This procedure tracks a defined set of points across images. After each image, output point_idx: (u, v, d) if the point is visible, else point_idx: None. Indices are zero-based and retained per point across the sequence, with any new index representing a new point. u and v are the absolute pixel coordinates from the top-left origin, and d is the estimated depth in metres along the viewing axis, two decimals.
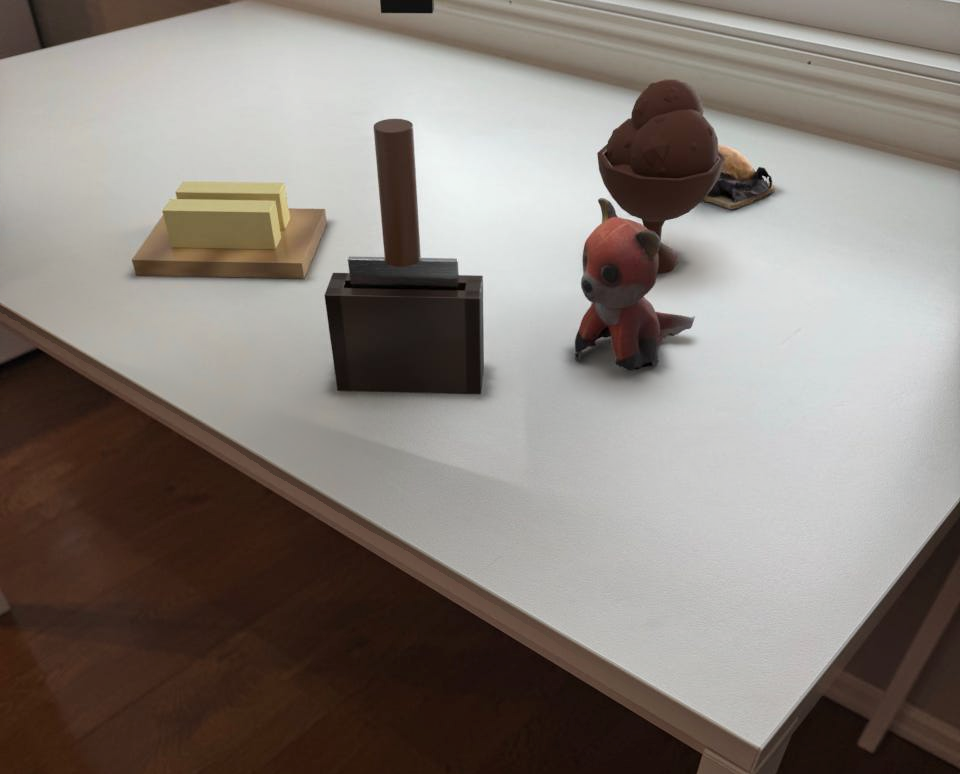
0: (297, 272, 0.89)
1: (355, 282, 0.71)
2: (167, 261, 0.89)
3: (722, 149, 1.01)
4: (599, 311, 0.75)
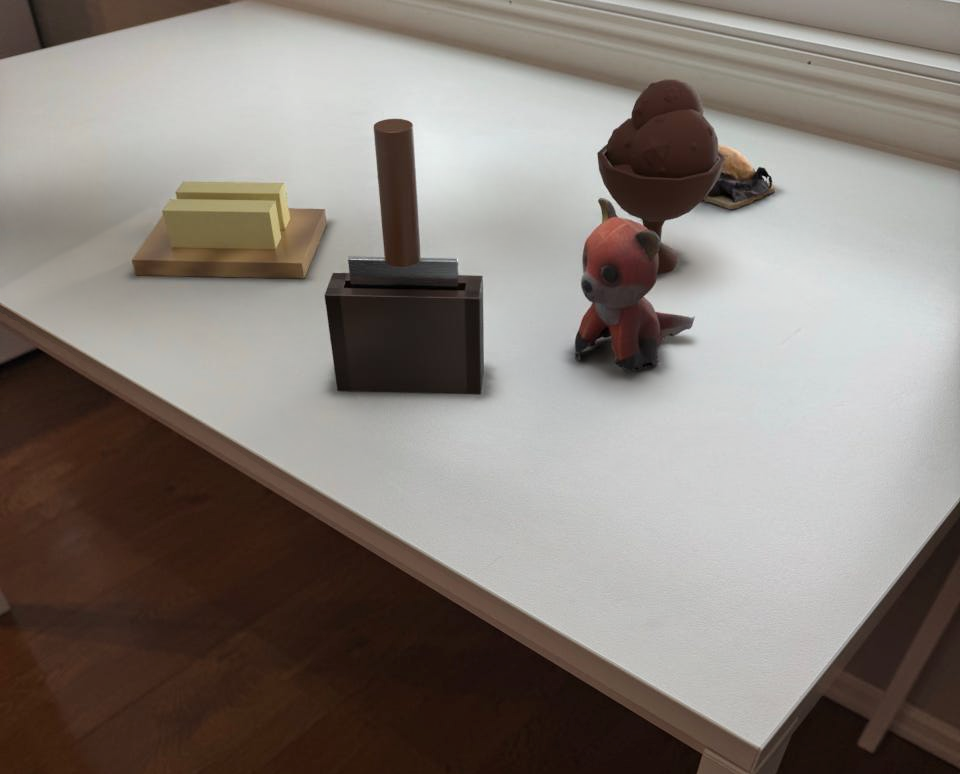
0: (297, 272, 0.89)
1: (355, 282, 0.71)
2: (167, 261, 0.89)
3: (722, 149, 1.01)
4: (599, 311, 0.75)
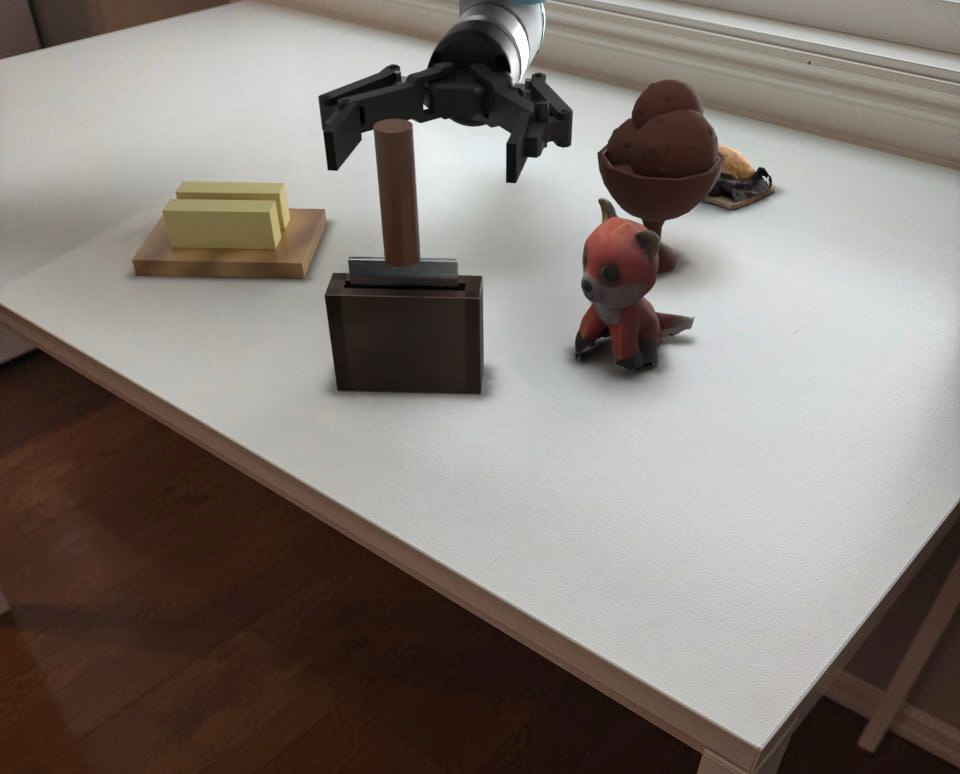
0: (297, 272, 0.89)
1: (355, 282, 0.71)
2: (167, 261, 0.89)
3: (722, 149, 1.01)
4: (599, 311, 0.75)
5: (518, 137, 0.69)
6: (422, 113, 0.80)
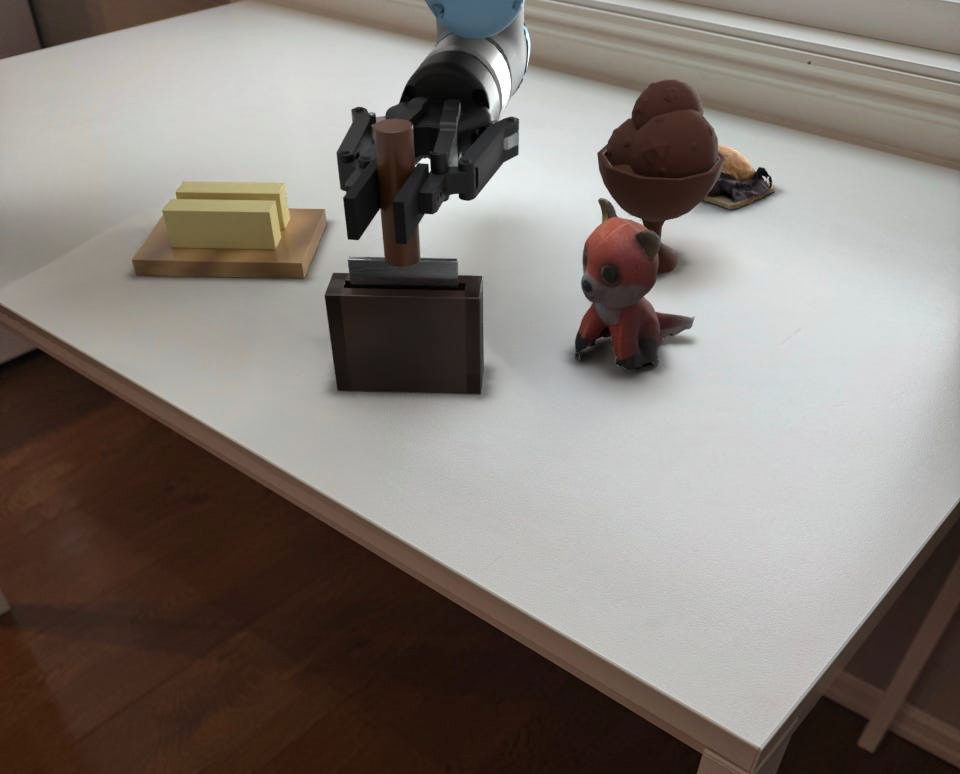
0: (297, 272, 0.89)
1: (355, 282, 0.71)
2: (167, 261, 0.89)
3: (722, 149, 1.01)
4: (599, 311, 0.75)
5: (407, 194, 0.62)
6: None
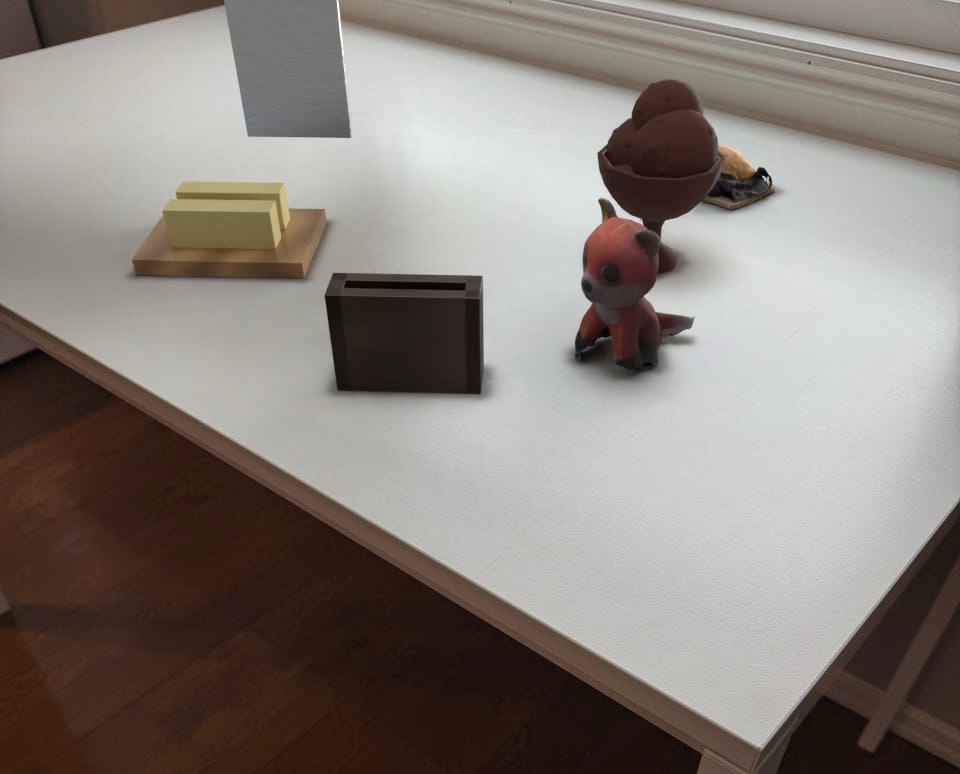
0: (297, 272, 0.89)
1: (231, 11, 0.68)
2: (167, 261, 0.89)
3: (722, 149, 1.01)
4: (599, 311, 0.75)
5: None
6: None
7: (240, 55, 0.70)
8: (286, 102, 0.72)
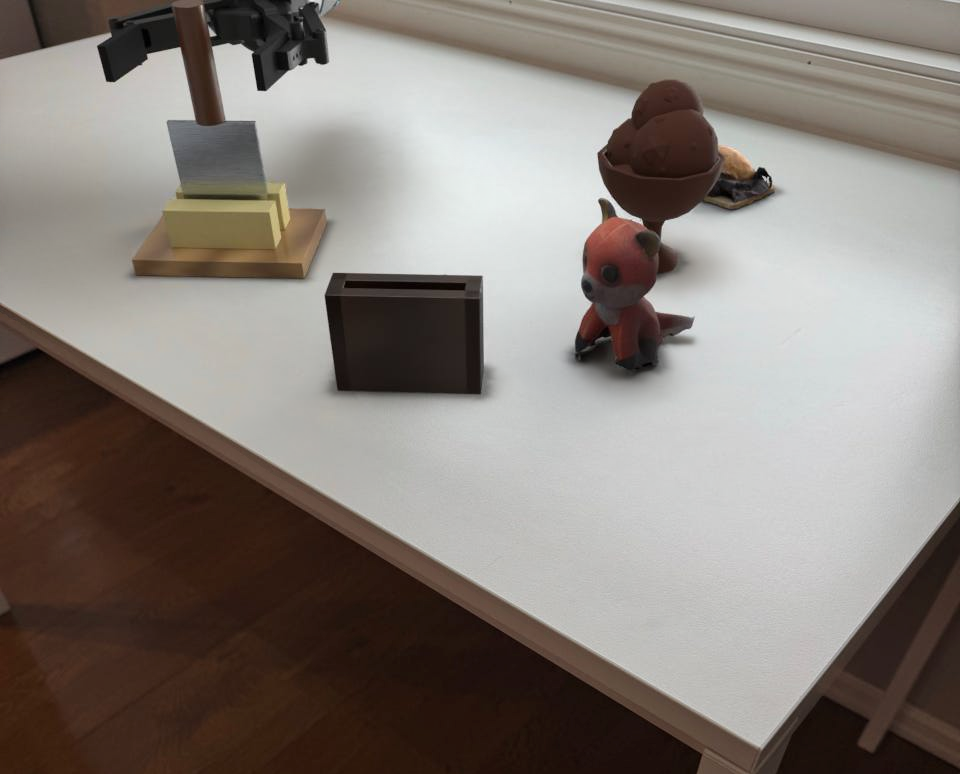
0: (297, 272, 0.89)
1: (175, 142, 0.87)
2: (167, 261, 0.89)
3: (722, 149, 1.01)
4: (599, 311, 0.75)
5: (264, 49, 0.79)
6: None
7: (183, 174, 0.89)
8: None
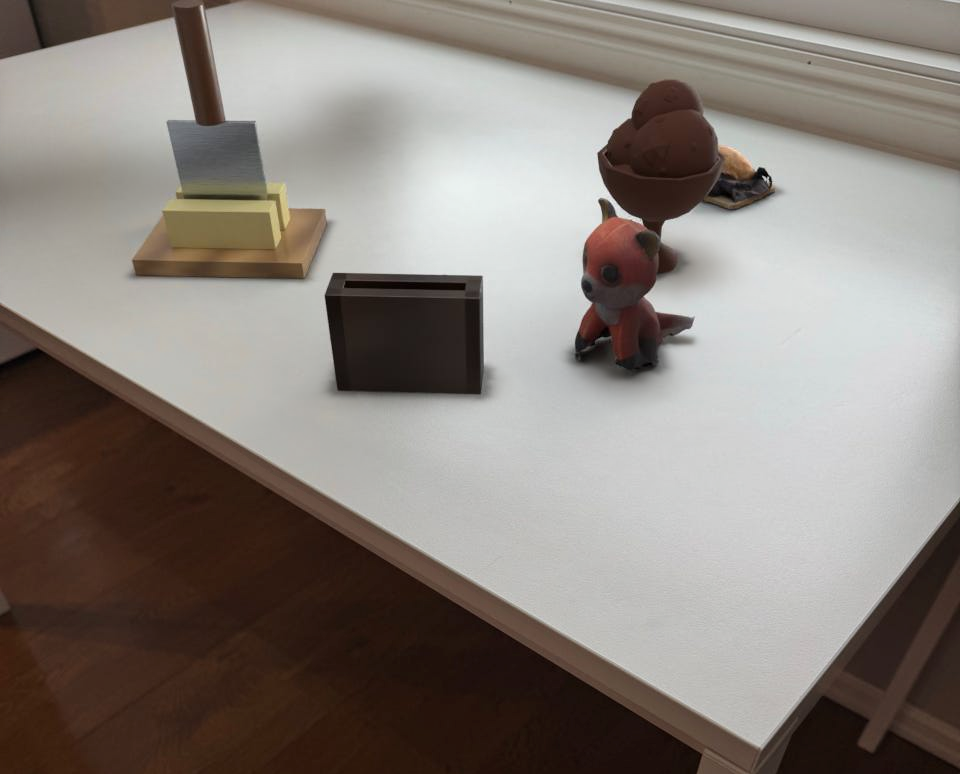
0: (297, 272, 0.89)
1: (175, 142, 0.87)
2: (167, 261, 0.89)
3: (722, 149, 1.01)
4: (599, 311, 0.75)
5: None
6: None
7: (183, 174, 0.89)
8: None
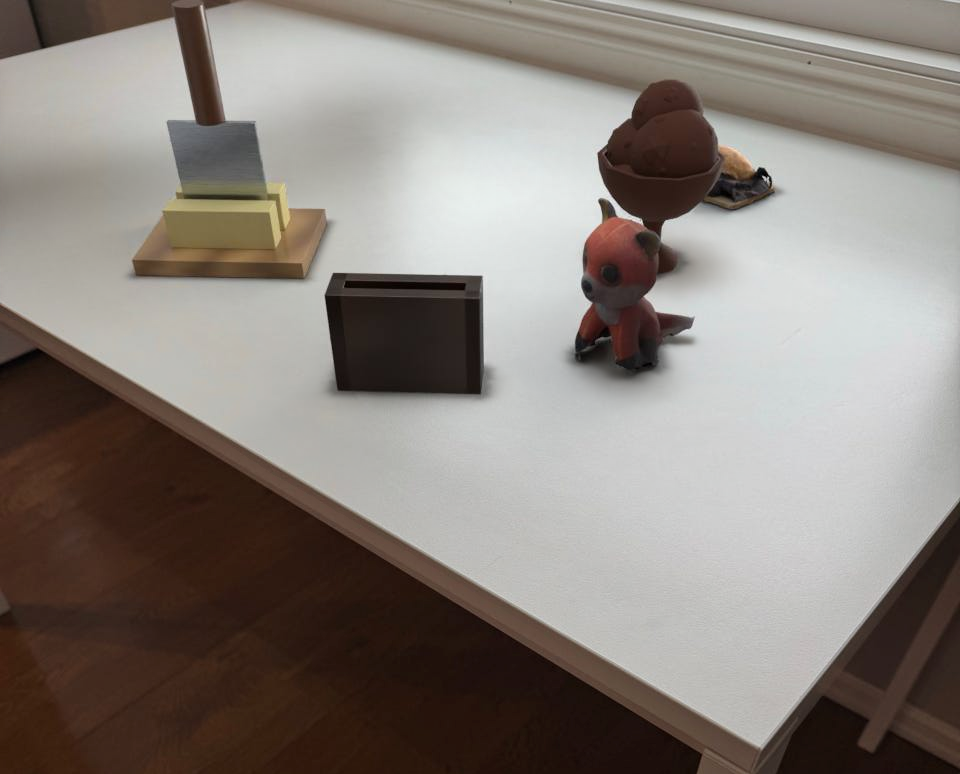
0: (297, 272, 0.89)
1: (175, 142, 0.87)
2: (167, 261, 0.89)
3: (722, 150, 1.01)
4: (599, 311, 0.75)
5: None
6: None
7: (183, 174, 0.89)
8: None
